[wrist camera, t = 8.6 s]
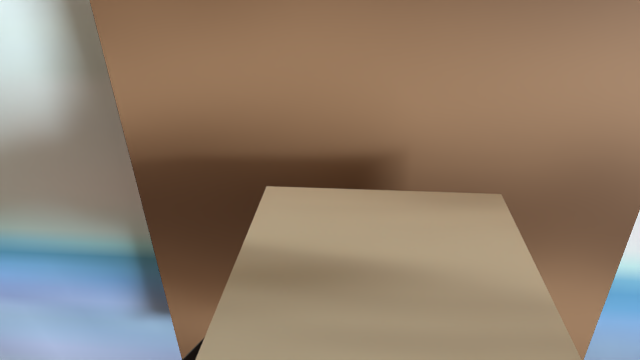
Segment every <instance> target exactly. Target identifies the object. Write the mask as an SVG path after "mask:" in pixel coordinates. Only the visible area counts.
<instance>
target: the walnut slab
mask: <svg viewBox="0 0 640 360" xmlns="http://www.w3.org/2000/svg"><path fill="white" fill-rule="evenodd" d="M90 4H91V8H92V11H93V15H94V19H95V23H96V27H97V31H98V35H99V39H100V42H101V46H102V50H103V54H104V58H105V62H106V66H107V70H108V74H109V77H110V81H111V85H112V89H113V93H114V97H115V101H116V105H117V109H118V112H119V116H120V120H121V124H122V128H123V132H124V136H125V140H126V143H127V147H128V151H129V155H130V159H131V163H132V167H133V171H134V175H135V178H136V182H137V186H138V190H139V194H140V198H141V202H142V206H143V210H144V213H145V217H146V221H147V225H148V229H149V233H150V237H151V241H152V244H153V248H154V252H155V256H156V260H157V264H158V268H159V272H160V276H161V279H162V283H163V287H164V291H165V295H166V299H167V303H168V307H169V310H170V314H171V318H172V322H173V326H174V330H175V334H176V338H177V342H178V345H179V349H180V353H181V357H182V359H183V358H184V357H185V356H186V355H187V354H188V353H189V352H190V351H191V350H192V349H193V348H194V347H195V346H196V345H197V344H198V343H199V342H200V341H201V340H202V339H203V338H204V337H205V335H206V333H207V330H208V328H209V325H210V323H211V321H212V318H213V316H214V313H215V311H216V308H217V306H218V303H219V301H220V299H221V296H222V294H223V291H224V289H225V286H226V284H227V282H228V279H229V277H230V274H231V272H232V269H233V267H234V264H235V262H236V260H237V257H238V255H239V252H240V250H241V247H242V245H243V242H244V240H245V238H246V235H247V233H248V230H249V228H250V225H251V223H252V221H253V218H254V216H255V213H256V211H257V208H258V206H259V203H260V201H261V199H262V196H263V194H264V191H265V189H266V186H274V187H304V188H334V189H364V190H394V191H425V192H455V193H485V194H501V195H502V197H503V199H504V201H505V203H506V205H507V207H508V209H509V211H510V213H511V215H512V217H513V219H514V222H515V224H516V226H517V228H518V230H519V232H520V234H521V236H522V238H523V240H524V242H525V244H526V246H527V248H528V250H529V252H530V255H531V257H532V259H533V261H534V263H535V265H536V267H537V269H538V271H539V273H540V275H541V277H542V279H543V281H544V283H545V285H546V288H547V290H548V292H549V294H550V296H551V298H552V300H553V302H554V304H555V306H556V308H557V310H558V312H559V314H560V316H561V318H562V321H563V323H564V325H565V327H566V329H567V331H568V333H569V335H570V337H571V339H572V341H573V343H574V345H575V347H576V349H577V351H578V354H579V356H580V358H581V360H584V357H585V354H586V352H587V349H588V346H589V344H590V341H591V338H592V336H593V333H594V330H595V328H596V325H597V322H598V320H599V317H600V314H601V312H602V309H603V306H604V304H605V301H606V298H607V296H608V293H609V290H610V288H611V285H612V282H613V280H614V277H615V274H616V272H617V269H618V266H619V264H620V261H621V258H622V256H623V253H624V250H625V248H626V245H627V242H628V240H629V237H630V234H631V232H632V229H633V226H634V224H635V221H636V218H637V216H638V213H639V210H640V0H90Z"/></svg>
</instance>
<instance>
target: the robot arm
mask: <svg viewBox="0 0 640 360" xmlns="http://www.w3.org/2000/svg"><path fill="white" fill-rule="evenodd" d="M204 338H205V337H204ZM204 338H203V339H202V340H201V341H200V342H199V343H198V344H197V345H196V346H195V347H194V348H193V349H192V350H191V351H190V352H189V353H188V354H187V355H186V356H185V357H184V358H183V359H182V360H196V357H197V355H198V352H199V350H200V347H201V345H202V343H203V340H204Z"/></svg>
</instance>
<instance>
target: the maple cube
mask: <svg viewBox="0 0 640 360" xmlns="http://www.w3.org/2000/svg"><path fill="white" fill-rule="evenodd" d="M196 360H581V358H580V356H579V354H578V351H577V349H576V347H575V345H574V343H573V341H572V339H571V337H570V335H569V333H568V331H567V329H566V327H565V325H564V323H563V321H562V318H561V316H560V314H559V312H558V310H557V308H556V306H555V304H554V302H553V300H552V298H551V296H550V294H549V292H548V290H547V288H546V285H545V283H544V281H543V279H542V277H541V275H540V273H539V271H538V269H537V267H536V265H535V263H534V261H533V259H532V257H531V255H530V252H529V250H528V248H527V246H526V244H525V242H524V240H523V238H522V236H521V234H520V232H519V230H518V228H517V226H516V224H515V222H514V219H513V217H512V215H511V213H510V211H509V209H508V207H507V205H506V203H505V201H504V199H503V197H502V195H501V194H485V193H455V192H425V191H394V190H364V189H334V188H304V187H274V186H266V189H265V191H264V194H263V196H262V199H261V201H260V203H259V206H258V208H257V211H256V213H255V216H254V218H253V221H252V223H251V225H250V228H249V230H248V233H247V235H246V238H245V240H244V242H243V245H242V247H241V250H240V252H239V255H238V257H237V260H236V262H235V264H234V267H233V269H232V272H231V274H230V277H229V279H228V282H227V284H226V286H225V289H224V291H223V294H222V296H221V299H220V301H219V303H218V306H217V308H216V311H215V313H214V316H213V318H212V321H211V323H210V325H209V328H208V330H207V333H206V335H205V338H204V340H203V343H202V345H201V347H200V350H199V352H198V355H197V357H196Z"/></svg>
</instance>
